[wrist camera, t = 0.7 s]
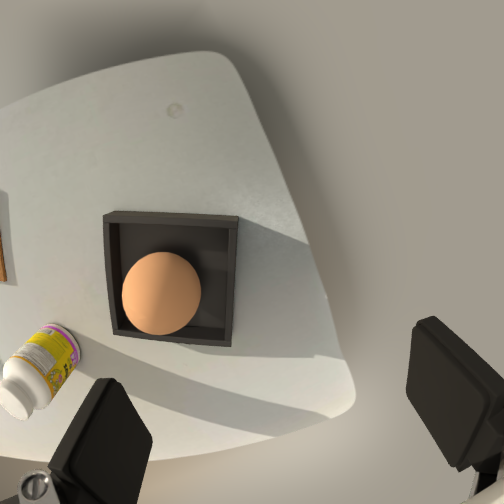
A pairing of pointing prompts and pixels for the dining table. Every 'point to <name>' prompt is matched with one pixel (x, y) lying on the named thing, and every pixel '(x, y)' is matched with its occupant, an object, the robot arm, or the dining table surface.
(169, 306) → the egg
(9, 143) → the dining table surface
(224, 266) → the tray
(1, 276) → the plate
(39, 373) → the supplement bottle
